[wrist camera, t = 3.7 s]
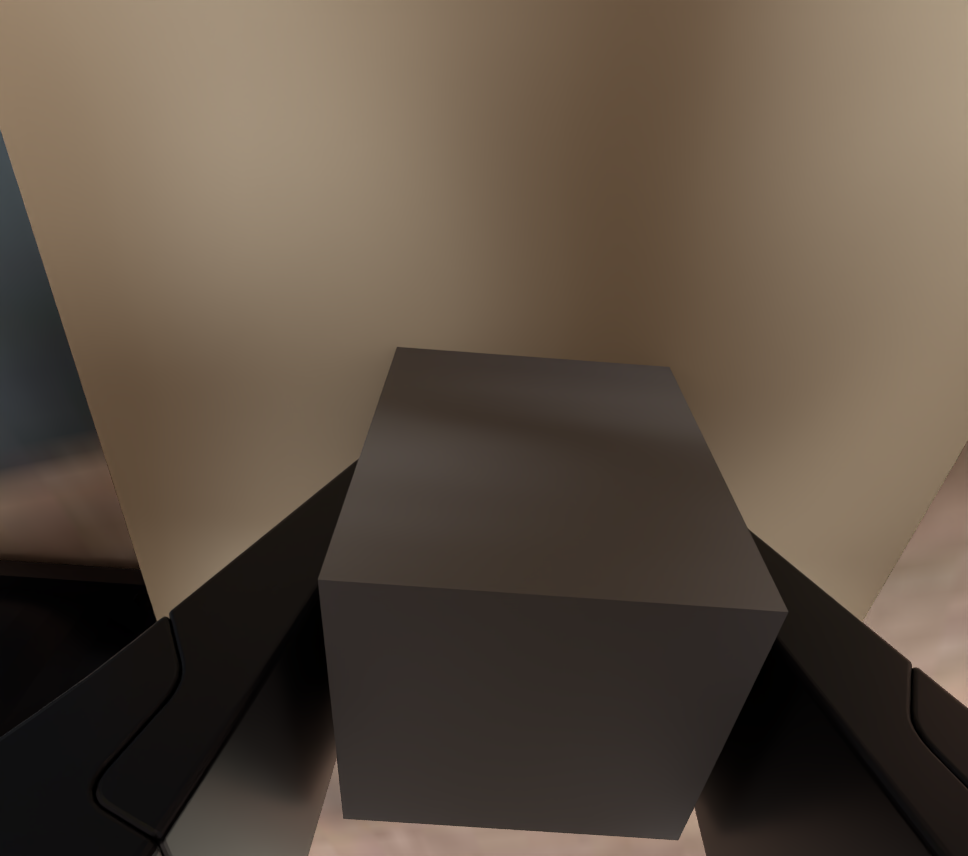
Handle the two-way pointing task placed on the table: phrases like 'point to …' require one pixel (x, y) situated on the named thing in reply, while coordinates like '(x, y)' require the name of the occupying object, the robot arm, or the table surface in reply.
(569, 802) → the lid
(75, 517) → the table surface
